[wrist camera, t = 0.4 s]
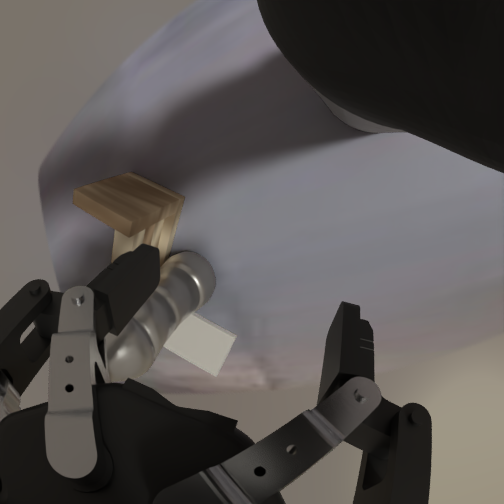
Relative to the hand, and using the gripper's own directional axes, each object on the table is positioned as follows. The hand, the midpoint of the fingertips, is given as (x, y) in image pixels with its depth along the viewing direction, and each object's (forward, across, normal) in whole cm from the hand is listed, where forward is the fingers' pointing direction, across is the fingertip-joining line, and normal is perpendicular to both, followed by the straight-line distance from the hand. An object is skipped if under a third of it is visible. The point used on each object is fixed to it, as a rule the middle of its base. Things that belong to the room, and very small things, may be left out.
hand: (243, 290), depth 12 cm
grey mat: (+16, +8, +24) cm, 30 cm away
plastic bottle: (+17, +9, +14) cm, 24 cm away
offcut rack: (+18, +17, +12) cm, 27 cm away
